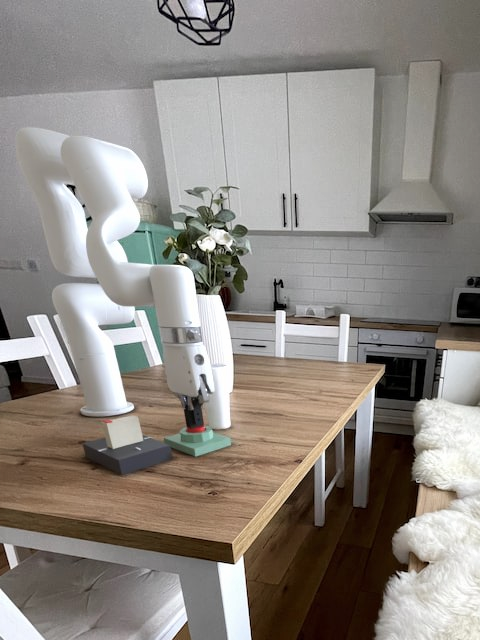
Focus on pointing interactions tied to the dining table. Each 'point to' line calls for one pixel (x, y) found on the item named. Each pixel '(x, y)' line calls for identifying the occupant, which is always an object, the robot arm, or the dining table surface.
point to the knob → (122, 431)
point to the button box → (197, 441)
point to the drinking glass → (219, 399)
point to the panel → (128, 454)
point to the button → (196, 429)
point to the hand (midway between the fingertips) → (195, 426)
